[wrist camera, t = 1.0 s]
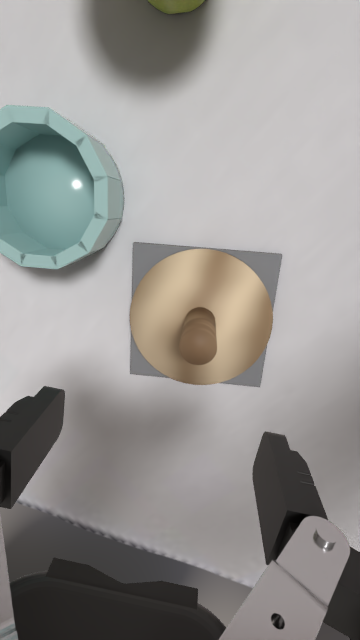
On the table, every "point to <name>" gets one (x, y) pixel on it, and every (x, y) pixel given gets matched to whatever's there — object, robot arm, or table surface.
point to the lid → (201, 316)
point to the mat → (257, 261)
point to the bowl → (54, 189)
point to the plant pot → (176, 5)
